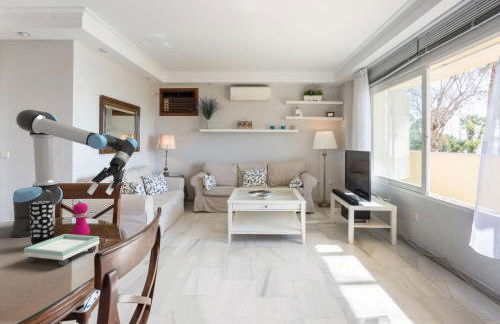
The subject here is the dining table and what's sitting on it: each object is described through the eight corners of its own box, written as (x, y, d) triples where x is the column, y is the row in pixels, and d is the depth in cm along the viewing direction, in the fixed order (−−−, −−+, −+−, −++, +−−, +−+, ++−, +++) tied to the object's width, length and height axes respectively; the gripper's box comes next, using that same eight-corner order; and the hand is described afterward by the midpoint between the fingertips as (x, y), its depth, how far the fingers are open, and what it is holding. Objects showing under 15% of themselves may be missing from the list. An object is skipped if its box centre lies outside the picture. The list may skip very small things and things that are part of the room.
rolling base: (24, 263, 106) (23, 248, 105) (65, 247, 123) (64, 233, 123) (63, 268, 102) (62, 252, 101) (99, 250, 119) (99, 236, 119)
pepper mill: (70, 244, 126) (68, 201, 125) (75, 239, 133) (74, 198, 132) (87, 243, 128) (86, 200, 127) (92, 238, 135) (90, 198, 134)
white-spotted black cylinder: (51, 241, 130) (49, 199, 129) (56, 245, 125) (55, 202, 124) (29, 246, 124) (27, 202, 123) (34, 250, 119) (32, 205, 117)
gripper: (140, 164, 149) (120, 197, 136) (108, 166, 159) (87, 197, 147) (131, 155, 144) (110, 189, 131) (99, 158, 154) (76, 189, 141)
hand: (98, 193), depth 139 cm, fingers open, 13 cm apart
